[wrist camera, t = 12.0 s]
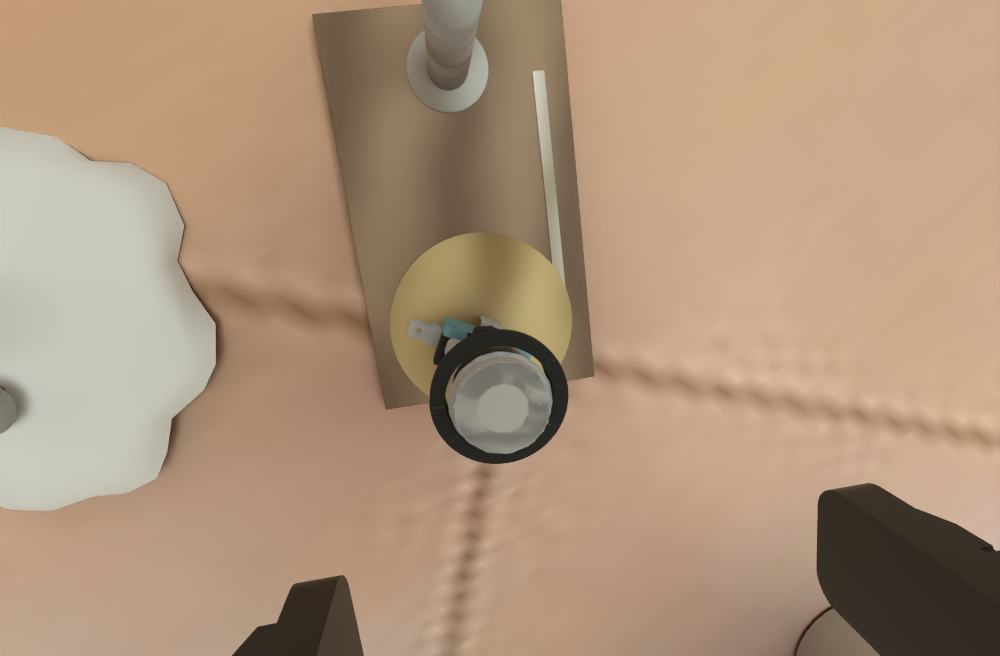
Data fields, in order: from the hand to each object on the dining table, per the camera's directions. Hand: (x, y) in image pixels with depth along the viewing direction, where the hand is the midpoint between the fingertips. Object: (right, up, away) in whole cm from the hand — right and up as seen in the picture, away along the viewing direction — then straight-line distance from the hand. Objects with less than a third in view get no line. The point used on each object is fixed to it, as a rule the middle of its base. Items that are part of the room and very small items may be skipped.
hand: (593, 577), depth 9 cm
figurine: (-26, +5, +19) cm, 32 cm away
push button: (-3, +4, +20) cm, 21 cm away
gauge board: (-3, +10, +20) cm, 23 cm away
